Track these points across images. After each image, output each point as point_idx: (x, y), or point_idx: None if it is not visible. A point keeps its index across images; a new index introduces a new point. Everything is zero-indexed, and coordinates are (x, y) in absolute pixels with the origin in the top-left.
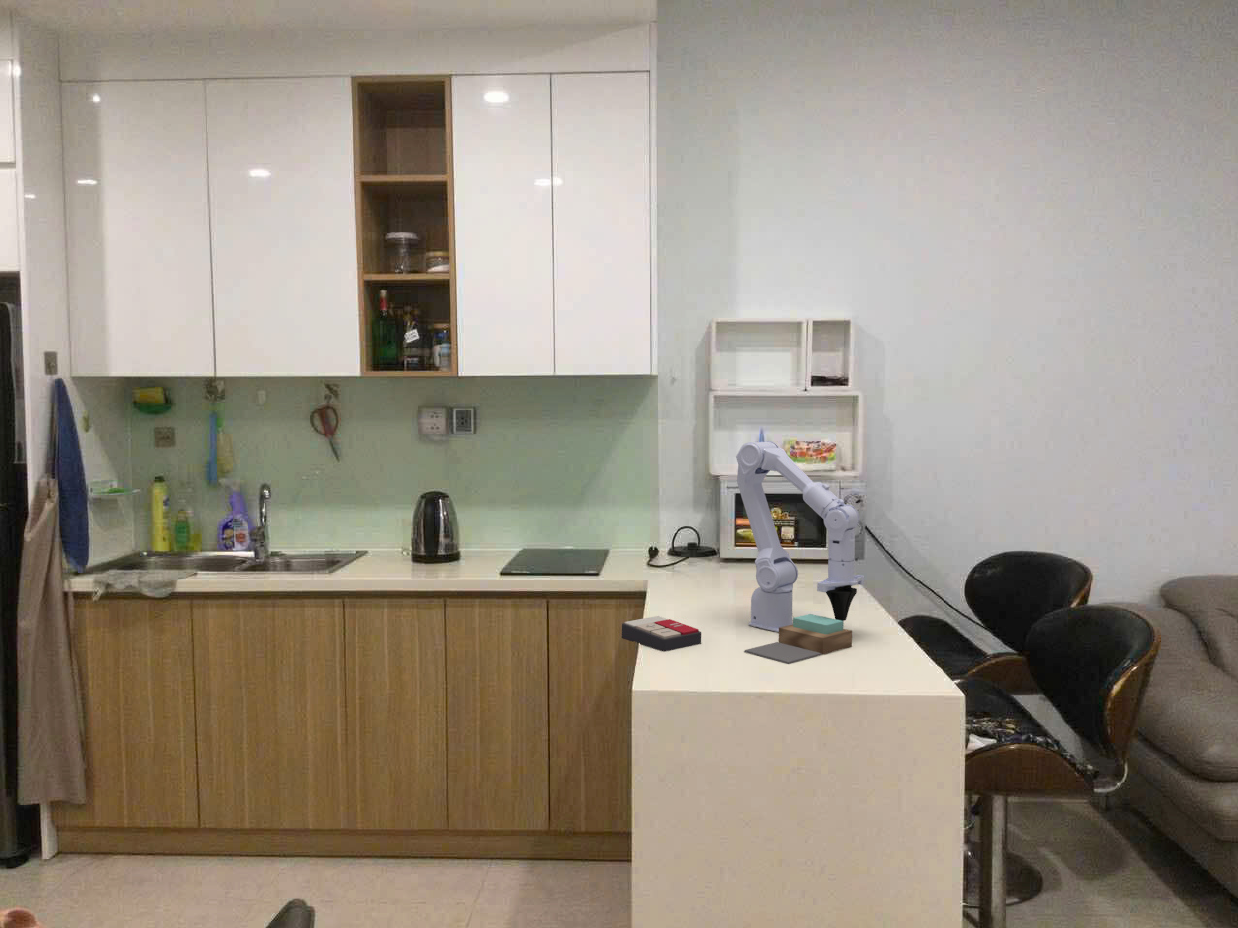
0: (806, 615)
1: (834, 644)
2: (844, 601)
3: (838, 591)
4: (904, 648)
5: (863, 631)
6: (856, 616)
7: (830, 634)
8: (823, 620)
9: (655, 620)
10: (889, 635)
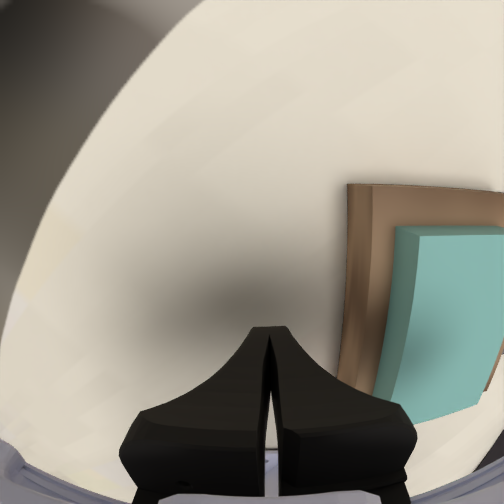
0: (417, 418)
1: (462, 189)
2: (329, 383)
3: (390, 472)
4: (187, 40)
5: (108, 312)
6: (40, 403)
7: (489, 212)
8: (469, 312)
9: None
10: (73, 212)
